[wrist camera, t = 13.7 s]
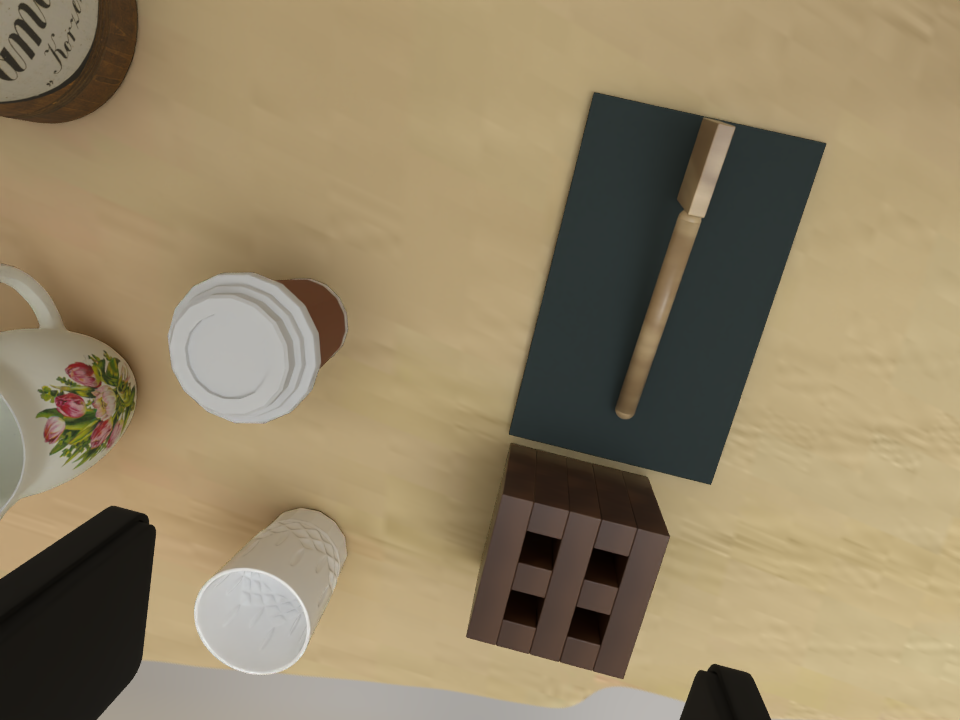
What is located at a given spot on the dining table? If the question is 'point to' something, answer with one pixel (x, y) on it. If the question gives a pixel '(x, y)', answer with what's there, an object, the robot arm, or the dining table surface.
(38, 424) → the pitcher
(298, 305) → the coffee cup
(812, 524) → the dining table surface
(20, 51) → the wooden container
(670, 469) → the mat
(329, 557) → the white cup
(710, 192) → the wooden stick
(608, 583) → the utensil block
